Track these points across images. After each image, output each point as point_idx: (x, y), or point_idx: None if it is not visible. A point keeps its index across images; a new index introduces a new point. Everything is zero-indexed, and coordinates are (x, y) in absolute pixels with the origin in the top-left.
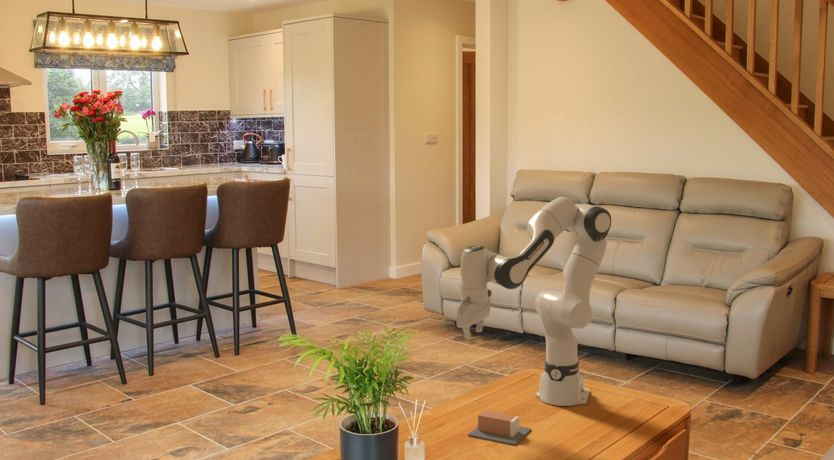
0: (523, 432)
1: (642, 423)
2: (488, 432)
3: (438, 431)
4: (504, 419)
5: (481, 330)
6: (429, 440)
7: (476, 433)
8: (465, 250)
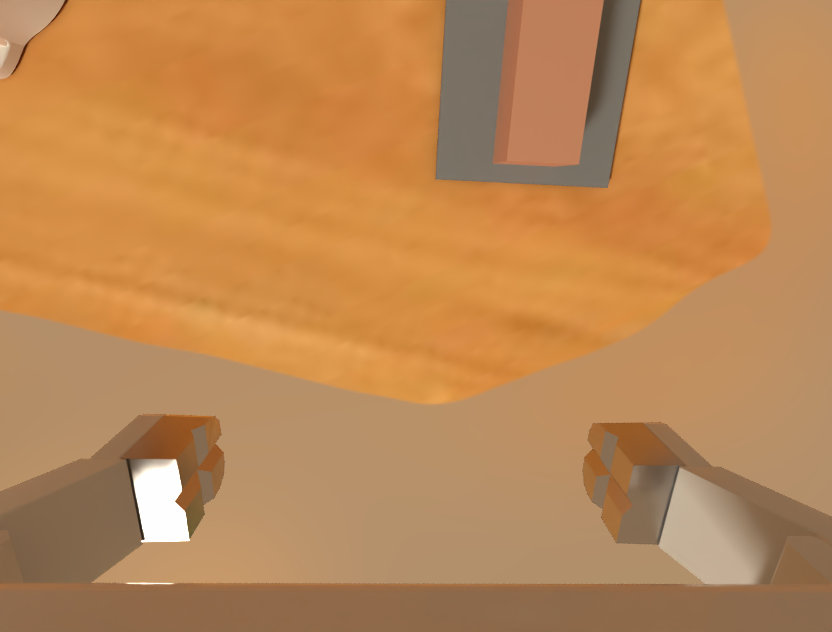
0: None
1: None
2: None
3: (589, 306)
4: (592, 14)
5: (165, 420)
6: (677, 301)
7: (591, 159)
8: None
